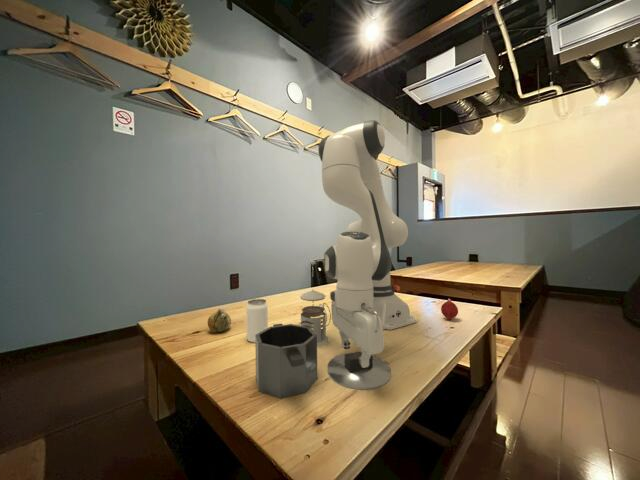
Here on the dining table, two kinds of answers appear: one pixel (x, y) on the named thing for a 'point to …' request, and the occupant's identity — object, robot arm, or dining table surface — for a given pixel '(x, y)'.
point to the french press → (315, 314)
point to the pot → (286, 360)
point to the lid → (358, 371)
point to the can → (256, 318)
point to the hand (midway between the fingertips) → (354, 356)
